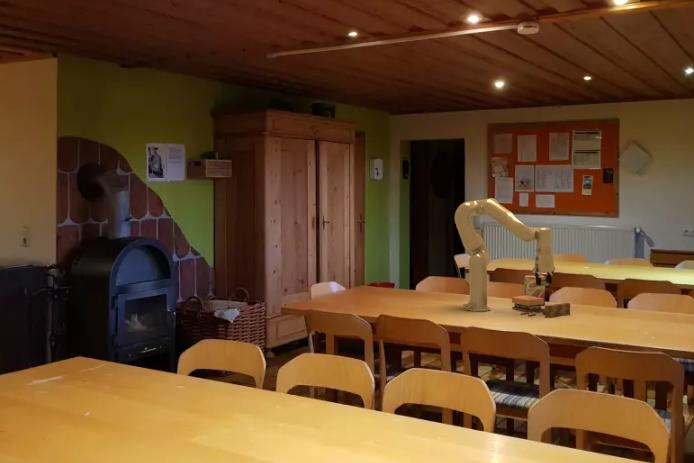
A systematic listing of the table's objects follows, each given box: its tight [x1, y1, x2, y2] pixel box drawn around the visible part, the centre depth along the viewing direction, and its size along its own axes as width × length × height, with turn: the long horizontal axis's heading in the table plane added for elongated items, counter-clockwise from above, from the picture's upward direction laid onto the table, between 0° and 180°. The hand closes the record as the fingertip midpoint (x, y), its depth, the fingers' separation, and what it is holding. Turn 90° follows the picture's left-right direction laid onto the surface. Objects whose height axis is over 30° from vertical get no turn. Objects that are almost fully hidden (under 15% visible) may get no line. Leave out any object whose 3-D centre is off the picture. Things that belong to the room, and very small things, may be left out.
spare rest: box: [520, 311, 537, 318], centre depth 377 cm, size 5×6×1 cm
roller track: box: [511, 303, 545, 316], centre depth 387 cm, size 9×25×4 cm, turn 30°
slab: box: [511, 295, 544, 306], centre depth 392 cm, size 11×13×3 cm
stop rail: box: [544, 302, 571, 319], centre depth 373 cm, size 16×2×6 cm, turn 120°
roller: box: [537, 278, 551, 287], centre depth 381 cm, size 7×3×3 cm, turn 119°
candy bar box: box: [523, 275, 546, 306], centre depth 407 cm, size 11×5×16 cm, turn 84°
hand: (543, 283), depth 381 cm, fingers closed on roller, 7 cm apart
